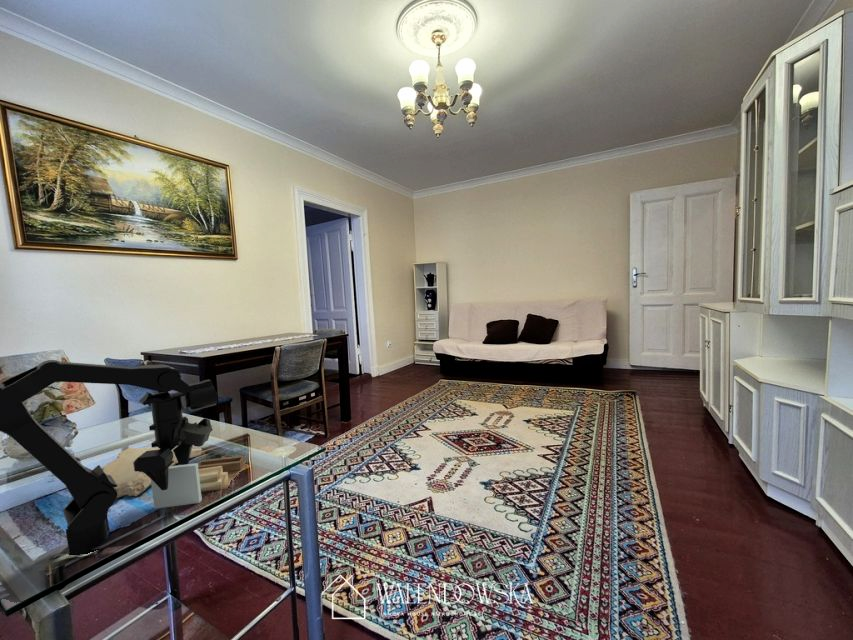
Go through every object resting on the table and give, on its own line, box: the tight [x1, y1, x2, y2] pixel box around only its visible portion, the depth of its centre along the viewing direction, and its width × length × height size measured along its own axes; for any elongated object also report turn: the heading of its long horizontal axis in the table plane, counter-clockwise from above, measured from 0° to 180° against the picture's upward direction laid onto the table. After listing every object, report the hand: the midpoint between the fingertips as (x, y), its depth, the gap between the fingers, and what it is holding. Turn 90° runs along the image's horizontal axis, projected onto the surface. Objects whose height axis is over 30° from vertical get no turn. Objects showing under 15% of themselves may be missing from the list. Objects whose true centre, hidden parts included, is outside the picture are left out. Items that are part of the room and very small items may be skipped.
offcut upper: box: [198, 466, 223, 484], centre depth 94 cm, size 4×7×2 cm, turn 105°
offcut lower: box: [200, 472, 228, 492], centre depth 94 cm, size 5×8×2 cm, turn 100°
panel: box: [150, 462, 203, 510], centre depth 86 cm, size 1×10×10 cm, turn 100°
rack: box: [197, 455, 247, 493], centre depth 98 cm, size 14×12×4 cm
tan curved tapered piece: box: [101, 446, 202, 499], centre depth 102 cm, size 24×8×20 cm
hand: (175, 478), depth 86 cm, fingers open, 9 cm apart
